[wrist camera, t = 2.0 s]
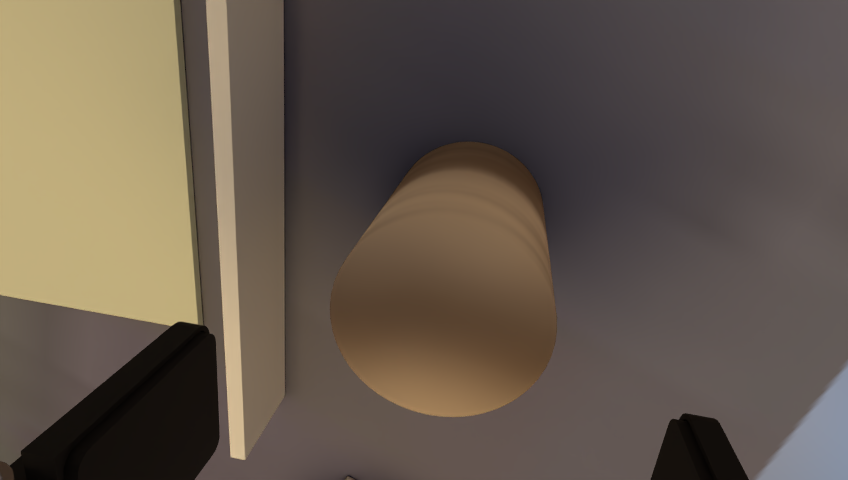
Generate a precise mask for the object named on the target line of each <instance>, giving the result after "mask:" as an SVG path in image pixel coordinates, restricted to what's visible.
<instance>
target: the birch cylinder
mask: <svg viewBox="0 0 848 480" xmlns="http://www.w3.org/2000/svg"><path fill="white" fill-rule="evenodd" d="M330 319H331V324H332V330H333V333H334V336H335V340H336V343H337V345H338V347H339V349H340V351H341V353H342V355H343V357H344V358H345V360H346V362H347V363H348V365H349V366H350V367H351V369H352V370H353V371H354V372H355V373H356V375H357V376H358V377H359V378H360V379H361V380H362V381H363V382H364V383H365V384H366V385H367V386H369V387H370V388H371V389H373V390H374V391H375V392H376V393H378V394H379V395H381V396H382V397H384V398H386V399H387V400H389V401H391V402H393V403H395V404H397V405H399V406H401V407H404V408H407V409H409V410H412V411H415V412H419V413H423V414H427V415H434V416H441V417H462V416H472V415H477V414H482V413H486V412H489V411H492V410H495V409H497V408H500V407H502V406H504V405H506V404H508V403H510V402H512V401H513V400H515V399H516V398H518V397H520V396H521V395H522V394H523V393H524V392H526V391H527V390H528V389H529V388H530V387H531V386H532V385H533V384H534V383H535V382H536V381H537V380H538V378H539V377H540V375H541V374H542V373H543V371H544V370H545V368H546V366H547V364H548V362H549V360H550V358H551V355H552V352H553V349H554V346H555V340H556V333H557V316H556V308H555V299H554V291H553V283H552V275H551V266H550V258H549V250H548V241H547V233H546V225H545V217H544V208H543V202H542V197H541V193H540V190H539V188H538V185H537V183H536V181H535V179H534V178H533V176H532V175H531V173H530V172H529V170H528V169H527V168H526V167H525V166H524V165H523V164H522V163H521V162H520V161H519V160H518V159H517V158H515V157H514V156H512V155H511V154H509V153H508V152H506V151H504V150H502V149H500V148H498V147H495V146H492V145H489V144H485V143H480V142H457V143H451V144H447V145H444V146H441V147H439V148H437V149H435V150H433V151H431V152H429V153H427V154H426V155H425V156H423V157H422V158H421V159H420V160H418V161H417V162H416V163H415V164H414V165H413V167H412V168H411V169H410V170H409V171H408V173H407V174H406V176H405V177H404V178H403V180H402V181H401V183H400V184H399V185H398V187H397V188H396V190H395V191H394V192H393V194H392V195H391V197H390V198H389V199H388V201H387V202H386V204H385V205H384V206H383V208H382V209H381V211H380V212H379V213H378V215H377V216H376V218H375V219H374V220H373V222H372V223H371V225H370V226H369V227H368V229H367V230H366V232H365V233H364V234H363V236H362V237H361V239H360V240H359V241H358V243H357V244H356V246H355V247H354V248H353V250H352V251H351V253H350V254H349V255H348V257H347V258H346V260H345V261H344V263H343V265H342V266H341V268H340V270H339V272H338V274H337V277H336V279H335V281H334V285H333V289H332V293H331V301H330Z"/></svg>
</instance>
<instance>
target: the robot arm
mask: <svg viewBox="0 0 848 480" xmlns="http://www.w3.org/2000/svg"><path fill="white" fill-rule="evenodd" d="M218 442H219V411H218V386H217V361H216V340H215V336H214V335H213V334H209V330H208V328H207V327H206V326H203V325H198V324H192V323H187V322H177V323H175V324H174V325H172V326H171V327H170V328H169V329H168V330H166V331H165V332H164V333H163V334H162V335H160V336H159V337H158V338H157V339H156V340H154V341H153V342H152V343H151V344H150V345H148V346H147V347H146V348H145V349H143V350H142V351H141V352H140V353H139V354H137V355H136V356H135V357H134V358H133V359H131V360H130V361H129V362H128V363H127V364H125V365H124V366H123V367H122V368H121V369H119V370H118V371H117V372H116V373H115V374H113V375H112V376H111V377H110V378H109V379H107V380H106V381H105V382H104V383H102V384H101V385H100V386H99V387H98V388H96V389H95V390H94V391H93V392H92V393H90V394H89V395H88V396H87V397H86V398H84V399H83V400H82V401H81V402H80V403H78V404H77V405H76V406H75V407H74V408H72V409H71V410H70V411H69V412H68V413H66V414H65V415H64V416H63V417H61V418H60V419H59V420H58V421H57V422H55V423H54V424H53V425H52V426H51V427H49V428H48V429H47V430H46V431H45V432H43V433H42V434H41V435H40V436H39V437H37V438H36V439H35V440H34V441H33V442H31V443H30V444H29V445H28V446H26V447H25V448H24V449H23V450H22V451H21V455H22V456H21V457H20V458H18V459H17V460H16V461H15V462H14V463H12V464H11V465H10V466H9V465H8V464H7V463H5V462H2V461H0V480H194V479H195V478H196V477H197V475H198V474H199V473H200V471H201V470H202V469H203V467H204V466H205V465H206V463H207V462H208V460H209V459H210V458H211V456H212V455H213V454H214V452H215V450H216V448H217V445H218ZM651 480H749V479H748V477H747V475H746V473H745V471H744V470H743V468H742V466H741V464H740V462H739V460H738V458H737V456H736V454H735V452H734V450H733V448H732V446H731V444H730V442H729V440H728V439H727V437H726V435H725V433H724V431H723V429H722V427H721V425H720V423H719V422H718V420H716V419H714V418H708V417H703V416H697V415H692V414H686V413H685V414H682V416H681V417H680V419H679V420H677V419H672V420H671V421H670V423H669V425H668V428H667V431H666V434H665V437H664V440H663V443H662V446H661V449H660V453H659V456H658V459H657V462H656V465H655V468H654V471H653V474H652V477H651Z"/></svg>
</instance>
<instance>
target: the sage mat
mask: <svg viewBox="0 0 848 480" xmlns="http://www.w3.org/2000/svg"><path fill="white" fill-rule="evenodd" d="M0 295H3V296H9V297H15V298H20V299H26V300H31V301H37V302H42V303H48V304H54V305H59V306H65V307H70V308H76V309H81V310H87V311H93V312H98V313H104V314H109V315H115V316H120V317H126V318H131V319H137V320H143V321H148V322H154V323H159V324H165V325H170V326H172V325H174V324H175V323H177V322H187V323H192V324H198V325H203V315H202V301H201V287H200V273H199V259H198V245H197V230H196V216H195V202H194V188H193V174H192V160H191V146H190V132H189V118H188V104H187V90H186V76H185V62H184V48H183V34H182V20H181V5H180V0H0Z"/></svg>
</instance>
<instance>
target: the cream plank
mask: <svg viewBox="0 0 848 480" xmlns="http://www.w3.org/2000/svg"><path fill="white" fill-rule="evenodd" d="M206 11H207V29H208V47H209V66H210V84H211V103H212V121H213V140H214V158H215V177H216V195H217V214H218V232H219V250H220V269H221V287H222V306H223V324H224V343H225V361H226V380H227V398H228V417H229V435H230V453H231V457H233V458H238V459H243V460H245V459H246V458H247V456H248V455H249V453H250V451H251V450H252V448H253V446H254V445H255V443H256V442H257V440H258V438H259V437H260V435H261V433H262V432H263V430H264V429H265V427H266V425H267V424H268V422H269V421H270V419H271V417H272V416H273V414H274V412H275V411H276V409H277V408H278V406H279V404H280V403H281V401H282V400H283V398H284V396H285V261H284V0H206Z"/></svg>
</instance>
